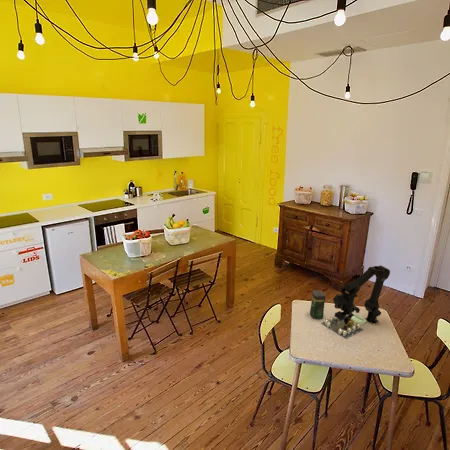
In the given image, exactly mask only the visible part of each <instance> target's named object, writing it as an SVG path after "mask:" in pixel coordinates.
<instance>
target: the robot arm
mask: <svg viewBox="0 0 450 450" xmlns="http://www.w3.org/2000/svg"><path fill="white" fill-rule="evenodd" d="M390 274H391V270H390V269H389V268H387V267H385V266H383V265H374V266H369V267H368V268H367V269H366V271H364V272H363V273H362V274H361V275H359V276H358V277H357V278H356V279H354V280H353V281H352V280H351V281H349V282H348V283H346V284H345V285H344V287H343V288H342V289H341V291H340V294H336V295H335V296H334V297H333V299H332V301H333V304H334V305H333V306H334V308H335V309H339V311H337V312H334V315H335V317H337V318H339V319H341V320H344V323H345V324H347V323H348V322H349V320H350V319H351V318H352V317H353V316H354V314H359V313H360V310H361V309H360V307H358V306H357V305H355V304H354V302H355V298H357V297H358V293H359V291H360V289H361V287H362V286H363V285H365V284H366V282H367V281H369V280H370V279H371V278H373V277H374V276H375V281H374V284H373V288H372V291H371V295H370V297H369V298H368V299H365V302H364V309H365V310H366V311H367V312H368V313H367V317H366V318H364V319H365V320H367V322H368V323H371V324H373V325H374V324H376V323H378V322H379V320H378V317H379V316H381V314H382V312H381V311H380V309H379V307H380V305H379V298H380V295H381V292H382V289H383V286H384V284H385V283H384V282H385V281H386V280H388V278H389V276H390ZM354 312H355V313H354ZM352 313H354V314H352Z"/></svg>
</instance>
